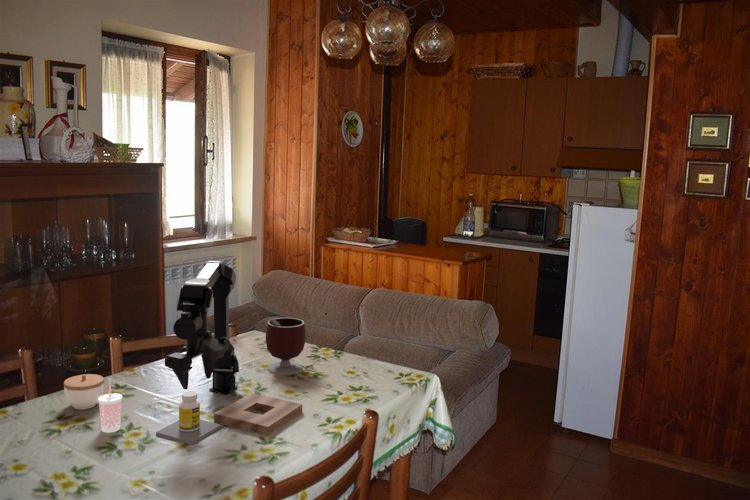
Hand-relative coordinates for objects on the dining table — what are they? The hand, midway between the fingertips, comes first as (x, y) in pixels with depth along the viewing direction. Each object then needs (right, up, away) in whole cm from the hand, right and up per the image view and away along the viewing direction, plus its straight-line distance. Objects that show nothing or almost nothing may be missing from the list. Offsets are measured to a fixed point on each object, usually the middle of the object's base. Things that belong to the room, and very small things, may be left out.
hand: (197, 383), depth 171 cm
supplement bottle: (-2, -12, -1) cm, 12 cm away
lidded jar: (-37, -10, +13) cm, 40 cm away
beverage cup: (-23, -12, -1) cm, 26 cm away
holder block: (+15, -12, +10) cm, 22 cm away
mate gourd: (+16, -6, +51) cm, 54 cm away
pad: (-2, -13, -1) cm, 13 cm away
